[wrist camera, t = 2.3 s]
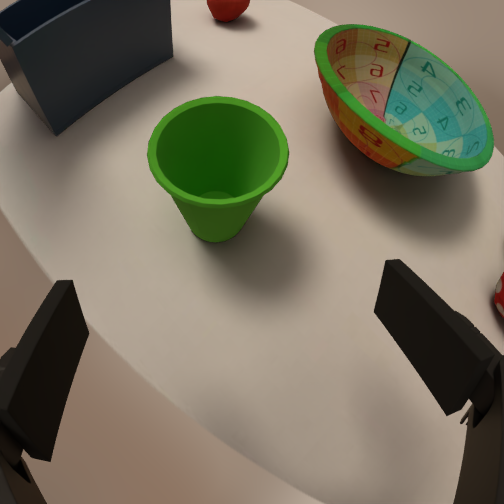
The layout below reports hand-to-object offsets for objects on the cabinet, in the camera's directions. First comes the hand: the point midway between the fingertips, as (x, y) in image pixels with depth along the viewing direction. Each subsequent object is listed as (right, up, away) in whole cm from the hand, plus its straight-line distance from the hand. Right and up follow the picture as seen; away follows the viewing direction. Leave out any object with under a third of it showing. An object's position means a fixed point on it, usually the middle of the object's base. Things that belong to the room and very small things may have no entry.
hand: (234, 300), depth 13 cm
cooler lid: (-27, +28, -4) cm, 39 cm away
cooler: (-23, +28, +22) cm, 42 cm away
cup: (-3, +5, +17) cm, 18 cm away
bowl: (+17, +16, +23) cm, 33 cm away
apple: (-4, +40, +29) cm, 50 cm away
